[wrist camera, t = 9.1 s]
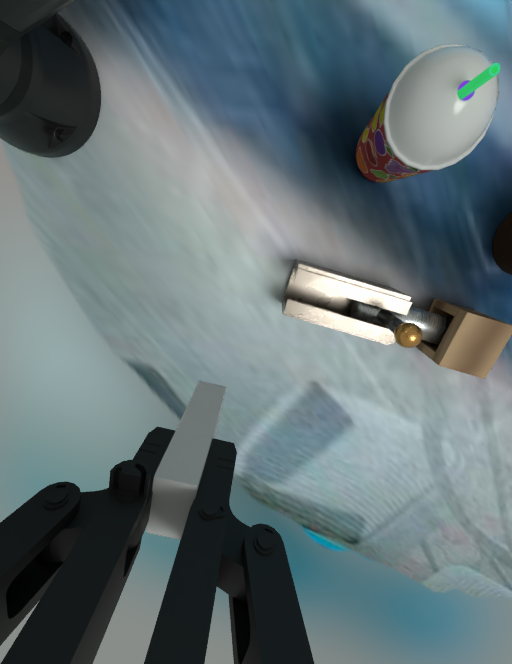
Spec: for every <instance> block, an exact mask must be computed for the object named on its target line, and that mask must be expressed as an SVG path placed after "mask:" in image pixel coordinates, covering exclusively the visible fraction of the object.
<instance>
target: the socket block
mask: <svg viewBox="0 0 512 664" xmlns="http://www.w3.org/2000/svg"><path fill="white" fill-rule="evenodd" d="M429 312H432V313H436V314H439V315H442V316H446V317H449V318H452V319H453V320H452V322H451V324H450V325H449V327H448V329H447V331H446V333H445V335H444V337H443V339H442V341H441V343H440V345H437V344H434V343H431V342H427V341H424V340H421V342H420V343H419V344H418V345H417V346H416V347H417V348H418V349H419V350H421V351H422V352H423V353H424V354H426V355H427V356H428V357H429V358H430V359H432V360H433V361H434V362H435V363H437V364H438V365H439V366H443V367H446V368H449V369H453V370H456V371H460V372H463V373H467V374H470V375H473V376H477V377H480V378H484V379H485V378H486V376H487V375H488V373H489V371H490V370H491V368H492V366H493V365H494V363H495V361H496V360H497V358H498V356H499V355H500V353H501V351H502V350H503V348H504V346H505V345H506V343H507V341H508V340H509V338H510V336H511V335H512V325H510V324H508V323H505V322H503V321H500V320H498V319H495V318H493V317H490V316H488V315H485V314H483V313H480V312H478V311H475V310H472V309H468V308H465V307H462V306H458V305H455V304H452V303H448V302H445V301H441V300H438V299H434V301H433V303H432V305H431V307H430V309H429Z"/></svg>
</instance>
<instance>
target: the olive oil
mask: <svg viewBox="0 0 512 664" xmlns="http://www.w3.org/2000/svg"><path fill="white" fill-rule="evenodd" d="M493 254H494V258H495V260H496V262H497V264H498V265H499V267H500V268H501V269H502V270H504V271H505V272H507V273H509V274H511V275H512V212H511V213H510V214H509V215H508V216H507V217H506V218H505V219H504V221H503V222H502V223H501V225H500V226H499V228H498V230H497V232H496V235H495V238H494V242H493Z"/></svg>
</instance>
